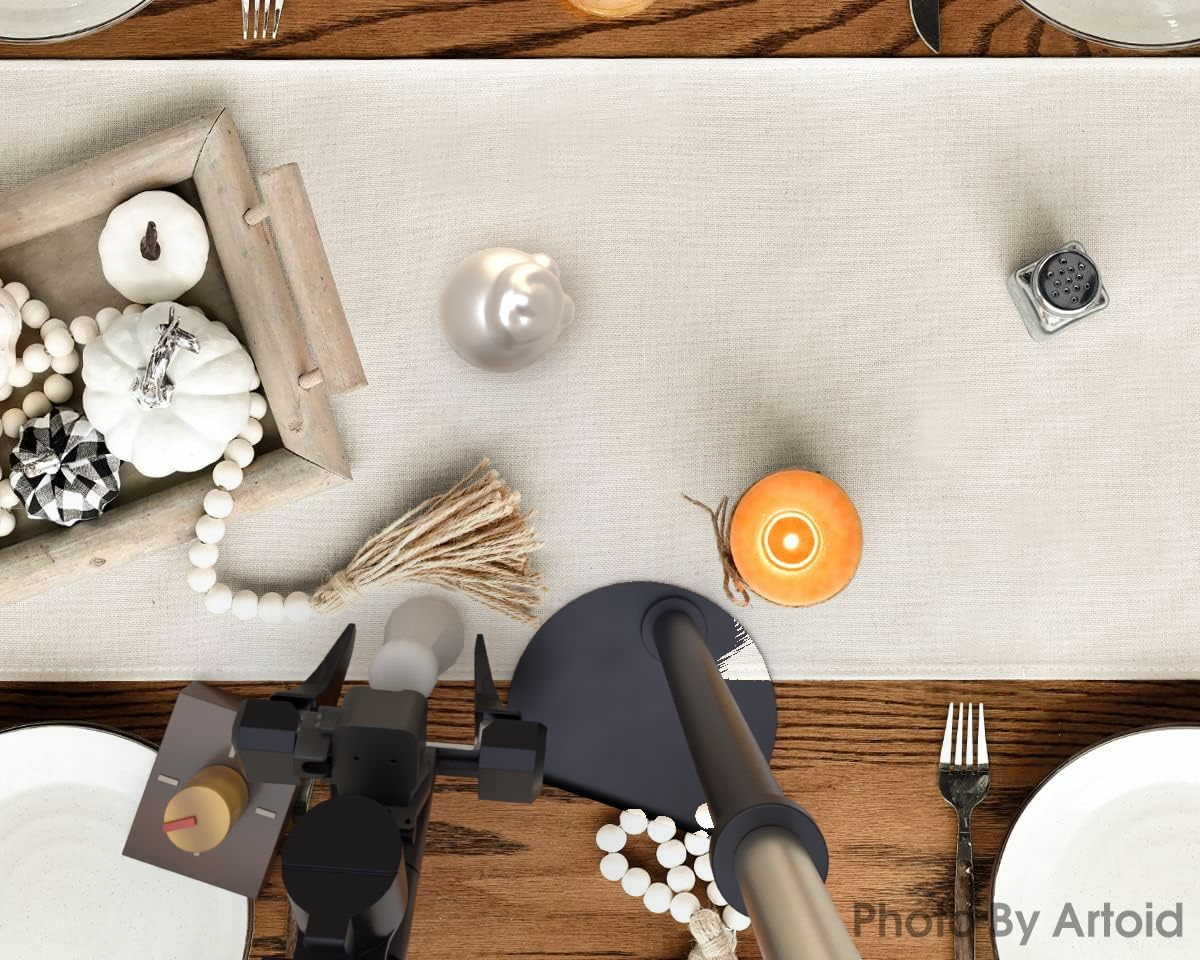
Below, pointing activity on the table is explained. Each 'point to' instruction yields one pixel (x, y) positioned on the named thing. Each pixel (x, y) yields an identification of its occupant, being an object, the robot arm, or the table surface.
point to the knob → (206, 809)
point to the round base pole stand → (681, 749)
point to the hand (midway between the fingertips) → (416, 631)
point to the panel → (184, 751)
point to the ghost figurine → (504, 308)
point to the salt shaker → (417, 646)
